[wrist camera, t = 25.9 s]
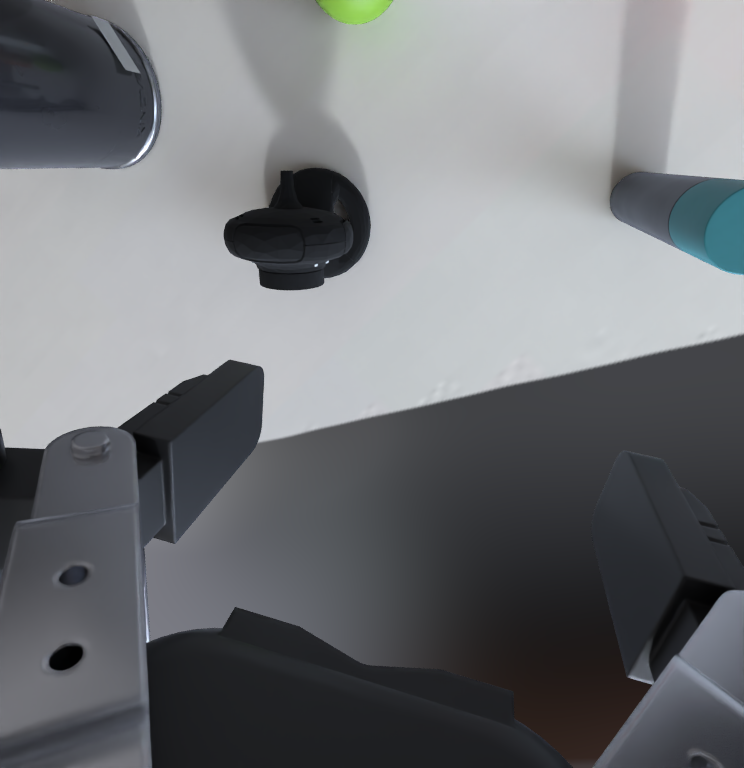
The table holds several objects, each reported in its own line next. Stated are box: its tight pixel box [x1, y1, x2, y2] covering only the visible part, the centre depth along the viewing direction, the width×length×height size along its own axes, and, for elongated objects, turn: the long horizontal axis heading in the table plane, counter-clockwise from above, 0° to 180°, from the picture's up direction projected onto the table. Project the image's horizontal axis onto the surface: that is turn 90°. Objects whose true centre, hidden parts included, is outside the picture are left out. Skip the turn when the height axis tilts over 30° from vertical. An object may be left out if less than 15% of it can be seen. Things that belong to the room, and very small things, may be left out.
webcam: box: [224, 168, 371, 290], centre depth 32 cm, size 8×8×10 cm
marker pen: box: [610, 172, 744, 275], centre depth 24 cm, size 3×3×16 cm
